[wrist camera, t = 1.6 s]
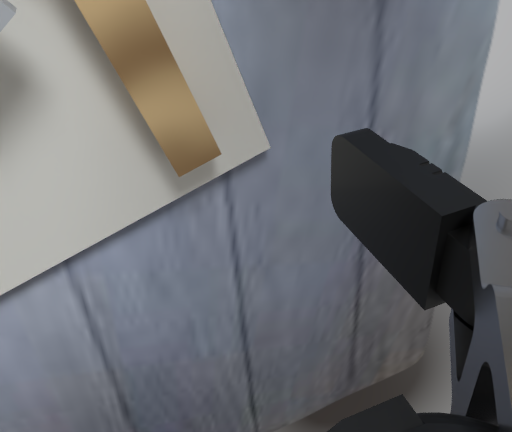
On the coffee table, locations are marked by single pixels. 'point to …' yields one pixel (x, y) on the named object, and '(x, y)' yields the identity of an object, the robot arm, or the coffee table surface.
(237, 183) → the coffee table surface
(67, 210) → the board
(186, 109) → the oak link
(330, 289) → the coffee table surface
